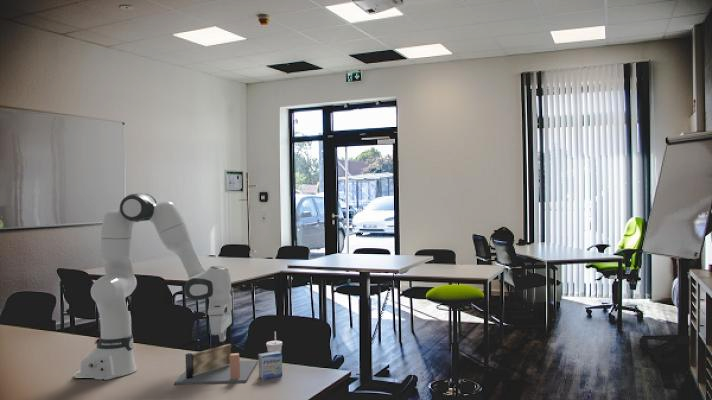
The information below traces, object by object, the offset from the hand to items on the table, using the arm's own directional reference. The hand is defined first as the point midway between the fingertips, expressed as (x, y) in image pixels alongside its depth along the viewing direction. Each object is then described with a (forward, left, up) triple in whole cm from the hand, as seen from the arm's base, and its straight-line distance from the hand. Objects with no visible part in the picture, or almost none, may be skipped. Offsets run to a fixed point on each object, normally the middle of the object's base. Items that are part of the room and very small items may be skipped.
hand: (222, 340), depth 219 cm
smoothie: (+21, -5, -10) cm, 24 cm away
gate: (-2, -9, -8) cm, 12 cm away
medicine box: (+21, -16, -10) cm, 29 cm away
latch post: (+9, -19, -10) cm, 23 cm away
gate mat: (0, -10, -10) cm, 14 cm away
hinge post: (-9, -17, -10) cm, 21 cm away
